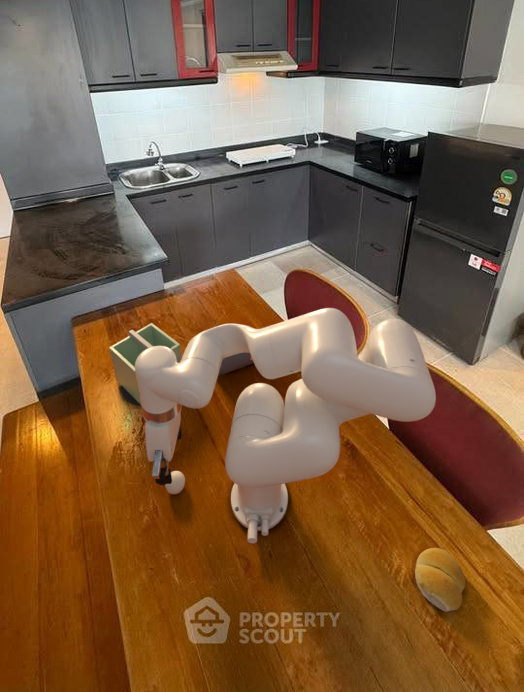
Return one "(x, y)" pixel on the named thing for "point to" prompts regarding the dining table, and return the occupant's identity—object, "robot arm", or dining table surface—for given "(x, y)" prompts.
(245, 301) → the dining table surface
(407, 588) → the dining table surface
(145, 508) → the dining table surface
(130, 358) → the bin
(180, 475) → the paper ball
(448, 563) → the bread roll
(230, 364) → the bluetooth speaker
